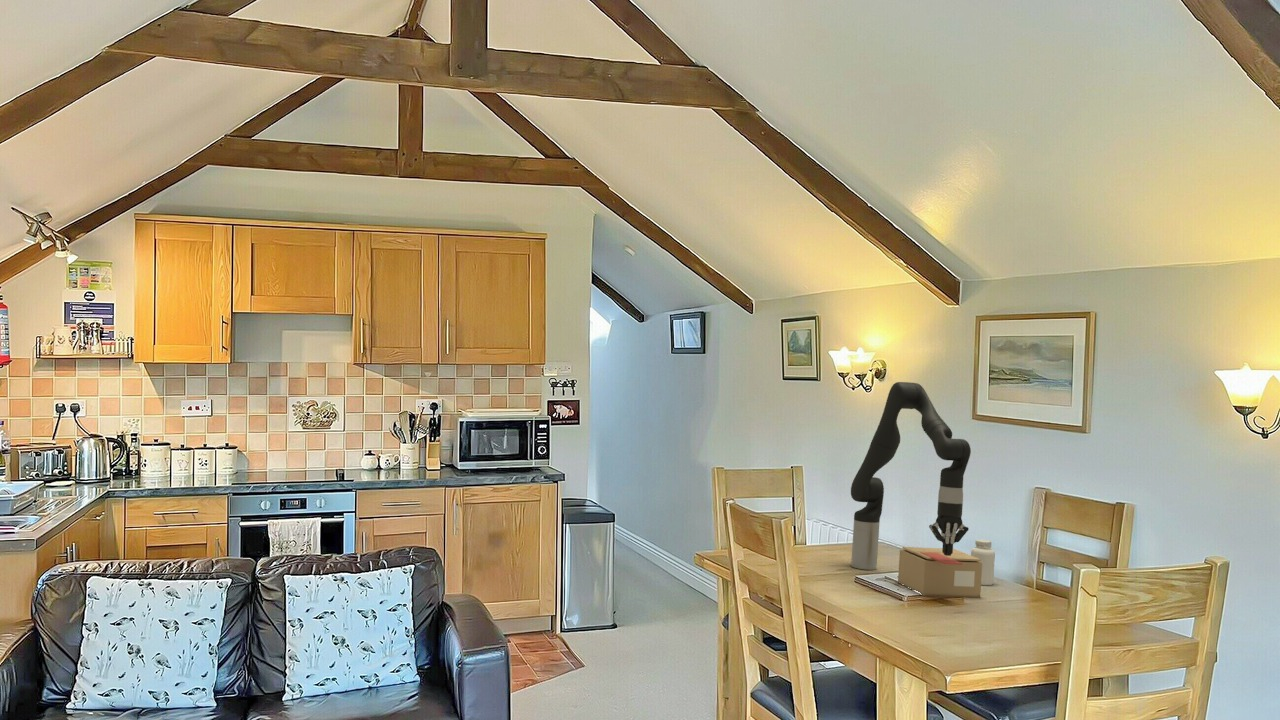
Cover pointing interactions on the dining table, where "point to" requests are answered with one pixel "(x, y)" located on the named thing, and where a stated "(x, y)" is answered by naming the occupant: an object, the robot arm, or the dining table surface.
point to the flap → (948, 557)
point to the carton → (939, 574)
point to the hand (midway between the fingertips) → (947, 555)
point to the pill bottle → (985, 560)
